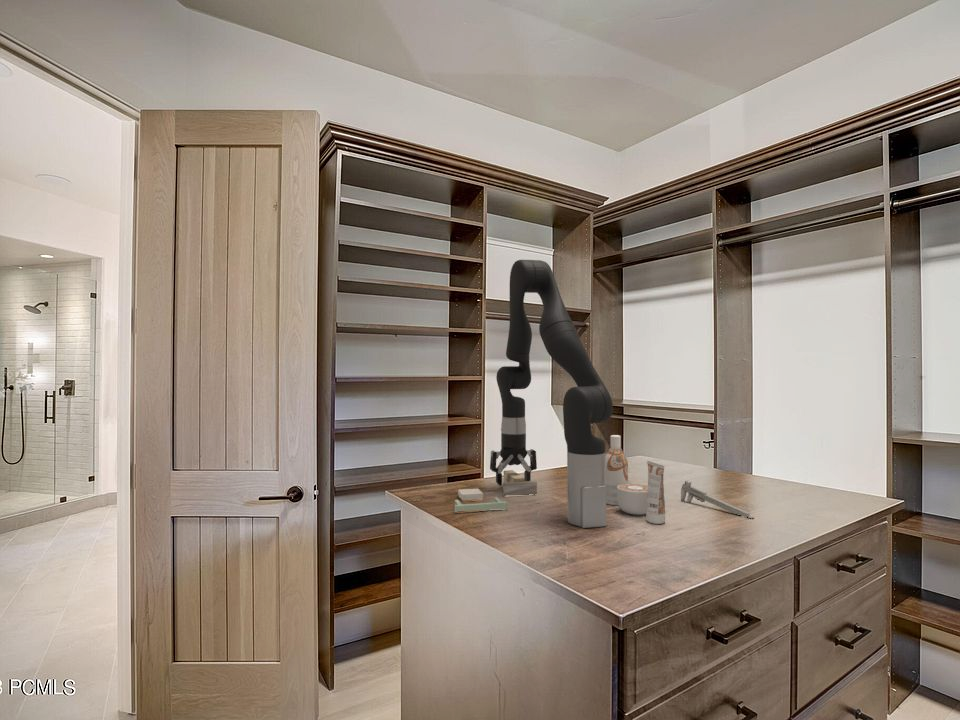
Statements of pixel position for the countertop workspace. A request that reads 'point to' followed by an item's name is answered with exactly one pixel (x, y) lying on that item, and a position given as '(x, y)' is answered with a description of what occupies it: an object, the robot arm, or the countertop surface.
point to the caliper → (708, 499)
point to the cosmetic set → (634, 486)
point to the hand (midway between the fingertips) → (513, 484)
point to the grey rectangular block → (517, 484)
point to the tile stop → (480, 505)
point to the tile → (470, 494)
